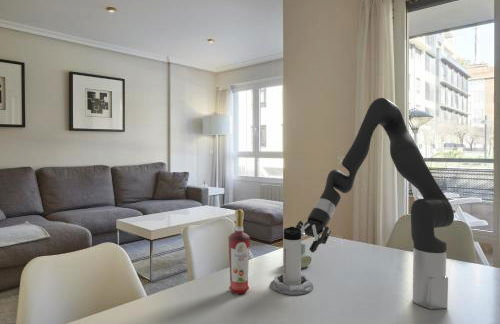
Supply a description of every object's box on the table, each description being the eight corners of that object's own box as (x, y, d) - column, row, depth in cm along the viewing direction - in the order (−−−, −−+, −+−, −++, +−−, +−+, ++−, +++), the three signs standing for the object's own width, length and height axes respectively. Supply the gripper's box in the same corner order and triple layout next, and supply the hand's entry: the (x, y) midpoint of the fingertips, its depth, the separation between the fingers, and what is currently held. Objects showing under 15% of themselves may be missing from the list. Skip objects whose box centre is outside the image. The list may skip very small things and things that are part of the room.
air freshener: (296, 271, 136) (296, 246, 136) (281, 266, 143) (281, 242, 142) (314, 265, 143) (314, 242, 143) (299, 260, 150) (299, 238, 149)
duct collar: (319, 293, 116) (319, 286, 116) (276, 296, 113) (276, 289, 113) (304, 277, 130) (304, 270, 130) (266, 279, 128) (266, 272, 128)
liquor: (230, 297, 113) (230, 212, 112) (226, 288, 120) (226, 208, 119) (252, 294, 115) (252, 211, 114) (246, 286, 122) (246, 207, 121)
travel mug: (300, 281, 125) (300, 226, 124) (301, 288, 118) (301, 231, 118) (283, 280, 126) (283, 226, 125) (283, 287, 119) (283, 230, 118)
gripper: (303, 204, 135) (282, 238, 128) (333, 209, 124) (312, 246, 117) (311, 216, 139) (292, 250, 132) (341, 222, 128) (322, 259, 121)
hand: (302, 248), depth 124 cm, fingers open, 8 cm apart
